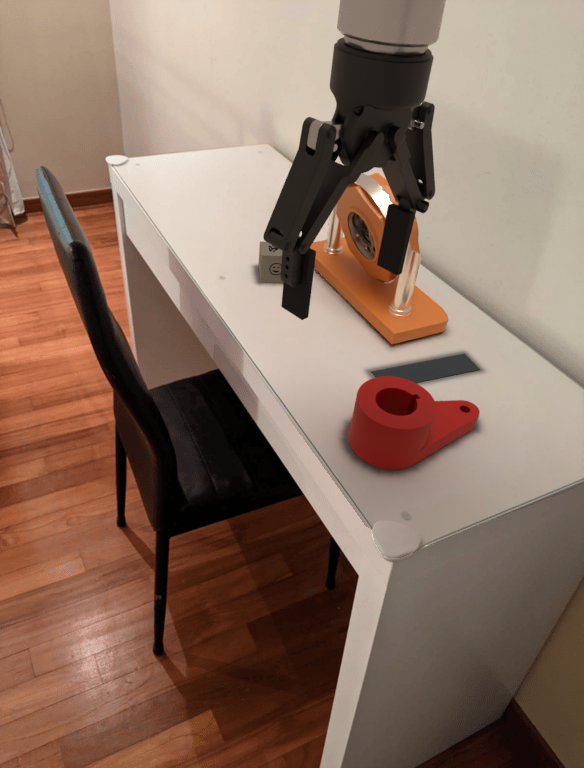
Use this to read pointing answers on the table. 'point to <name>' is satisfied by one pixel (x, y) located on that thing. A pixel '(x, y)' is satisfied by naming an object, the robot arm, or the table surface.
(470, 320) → the table surface
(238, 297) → the table surface
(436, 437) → the lever
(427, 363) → the strip
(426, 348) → the table surface
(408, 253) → the desk clock
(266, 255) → the dice cube
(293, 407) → the table surface
